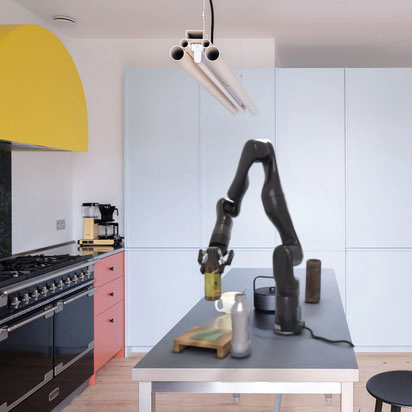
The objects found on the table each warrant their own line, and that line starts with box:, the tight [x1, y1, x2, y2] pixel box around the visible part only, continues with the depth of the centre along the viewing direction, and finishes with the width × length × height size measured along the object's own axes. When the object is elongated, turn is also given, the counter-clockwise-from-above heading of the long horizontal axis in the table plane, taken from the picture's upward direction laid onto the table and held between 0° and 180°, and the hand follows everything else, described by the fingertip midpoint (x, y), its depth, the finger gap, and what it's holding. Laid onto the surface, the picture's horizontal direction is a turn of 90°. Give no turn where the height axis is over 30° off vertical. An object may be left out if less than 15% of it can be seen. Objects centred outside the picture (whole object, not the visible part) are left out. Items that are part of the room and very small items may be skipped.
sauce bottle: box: [203, 246, 222, 302], centre depth 157 cm, size 7×6×20 cm
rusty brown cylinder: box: [304, 258, 322, 303], centre depth 196 cm, size 8×7×20 cm
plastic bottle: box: [229, 292, 252, 358], centre depth 133 cm, size 6×7×20 cm
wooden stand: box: [172, 325, 232, 359], centre depth 141 cm, size 18×14×4 cm
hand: (211, 273), depth 156 cm, fingers closed on sauce bottle, 6 cm apart
